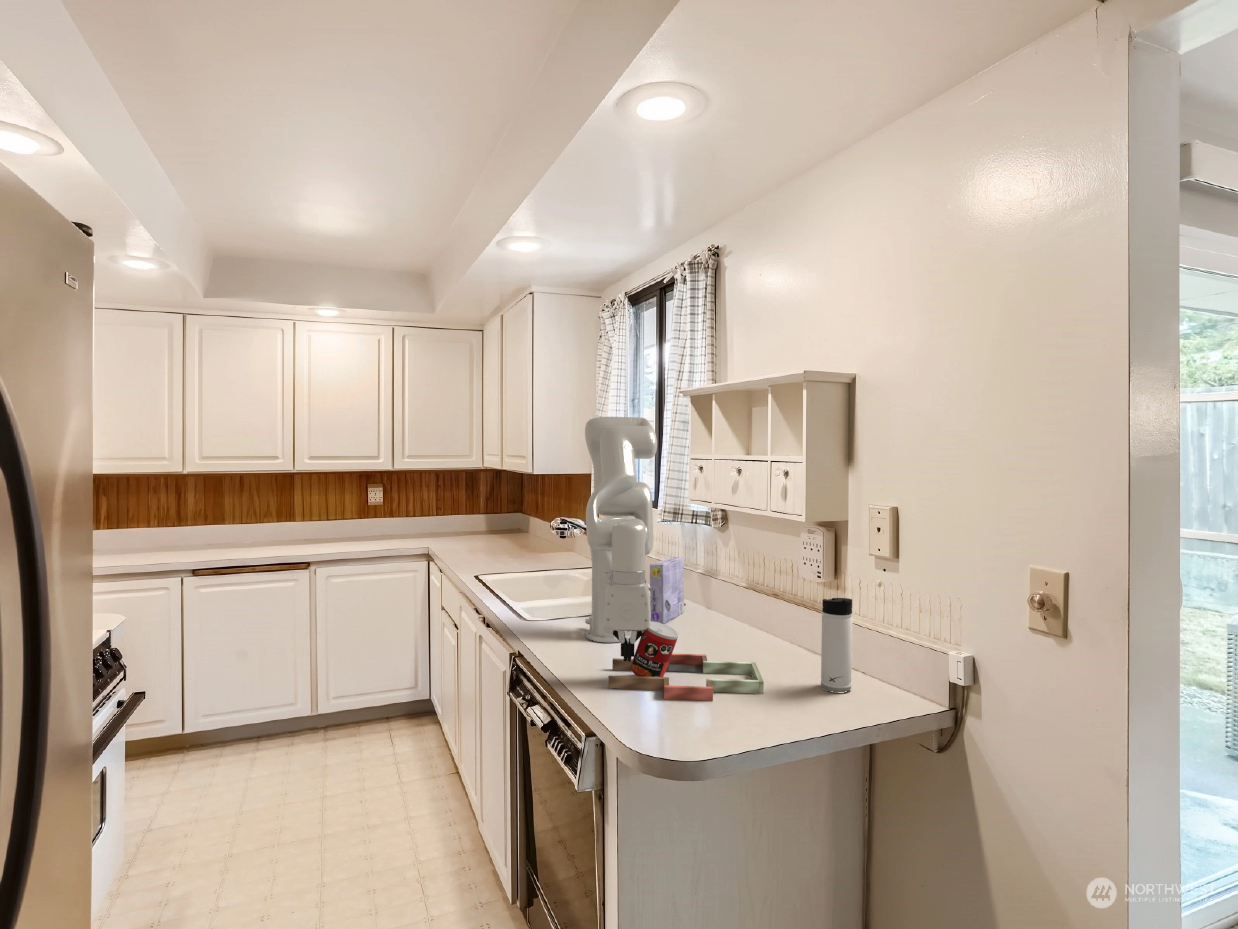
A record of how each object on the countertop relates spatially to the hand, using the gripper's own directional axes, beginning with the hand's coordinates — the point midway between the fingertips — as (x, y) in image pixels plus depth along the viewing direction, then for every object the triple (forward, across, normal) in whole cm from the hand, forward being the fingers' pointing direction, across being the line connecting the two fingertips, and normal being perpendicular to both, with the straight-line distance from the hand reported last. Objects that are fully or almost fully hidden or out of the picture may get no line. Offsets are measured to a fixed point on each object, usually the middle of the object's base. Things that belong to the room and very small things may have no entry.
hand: (627, 659), depth 151 cm
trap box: (+4, +12, +1) cm, 13 cm away
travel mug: (+5, +45, -1) cm, 46 cm away
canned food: (+3, +4, +1) cm, 5 cm away
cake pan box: (+4, +9, +57) cm, 58 cm away
